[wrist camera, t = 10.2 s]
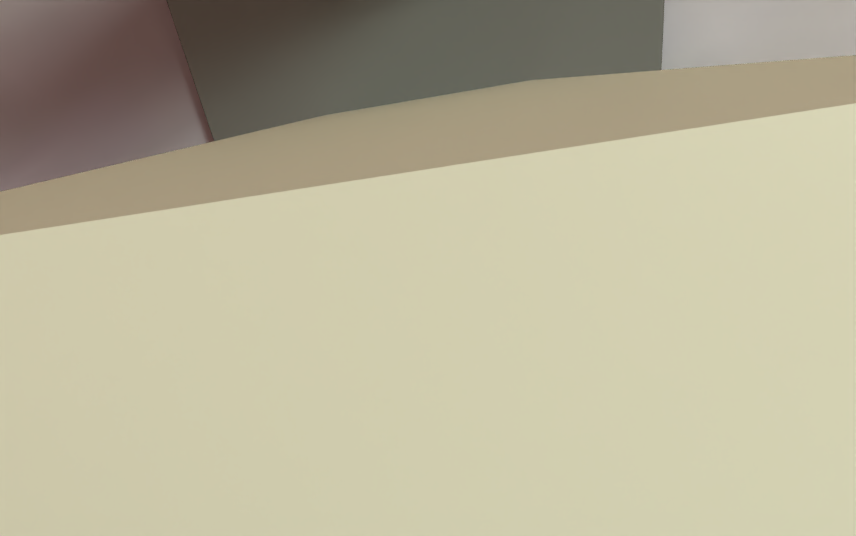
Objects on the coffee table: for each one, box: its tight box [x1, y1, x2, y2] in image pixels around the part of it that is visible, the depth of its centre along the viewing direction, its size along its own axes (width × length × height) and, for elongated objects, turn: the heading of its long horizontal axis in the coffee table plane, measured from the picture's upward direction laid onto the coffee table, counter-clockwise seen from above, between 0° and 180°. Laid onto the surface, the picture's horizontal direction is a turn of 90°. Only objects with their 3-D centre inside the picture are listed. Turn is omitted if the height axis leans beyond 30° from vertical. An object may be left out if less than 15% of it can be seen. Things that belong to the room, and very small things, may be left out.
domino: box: [0, 55, 856, 536], centre depth 7 cm, size 2×6×11 cm, turn 99°
